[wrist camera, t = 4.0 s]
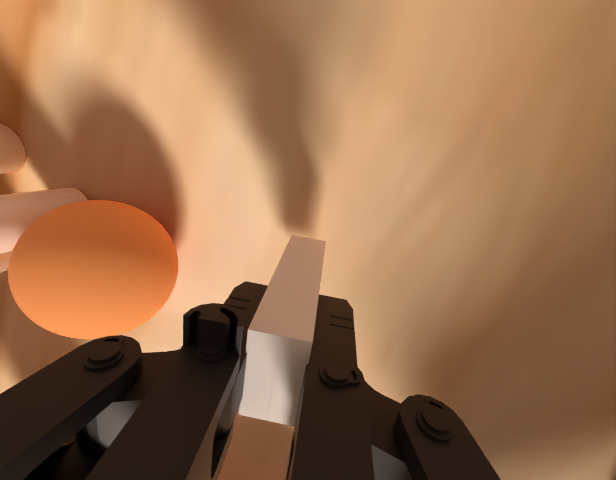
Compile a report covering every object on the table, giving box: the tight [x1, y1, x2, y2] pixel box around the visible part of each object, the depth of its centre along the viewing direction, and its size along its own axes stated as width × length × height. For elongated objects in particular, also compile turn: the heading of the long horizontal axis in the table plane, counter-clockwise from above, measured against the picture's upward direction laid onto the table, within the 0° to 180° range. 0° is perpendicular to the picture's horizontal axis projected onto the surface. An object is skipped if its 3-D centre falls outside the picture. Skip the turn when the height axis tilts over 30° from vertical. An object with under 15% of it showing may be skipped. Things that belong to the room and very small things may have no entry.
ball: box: [8, 200, 178, 339], centre depth 13 cm, size 6×6×6 cm
